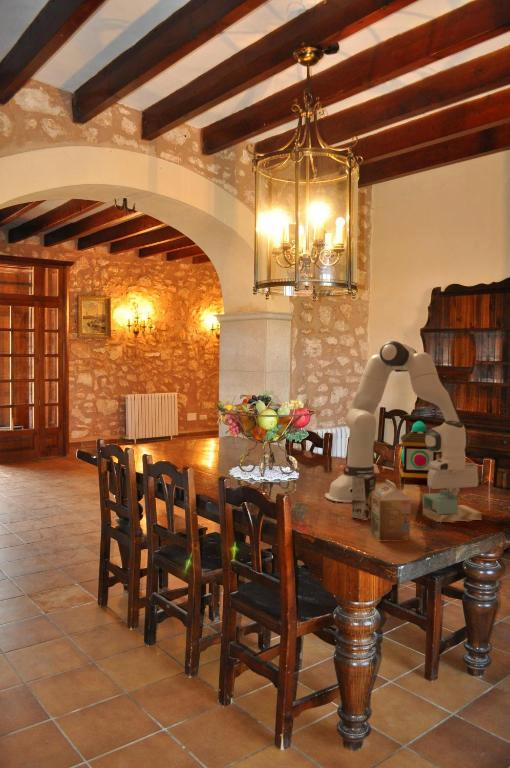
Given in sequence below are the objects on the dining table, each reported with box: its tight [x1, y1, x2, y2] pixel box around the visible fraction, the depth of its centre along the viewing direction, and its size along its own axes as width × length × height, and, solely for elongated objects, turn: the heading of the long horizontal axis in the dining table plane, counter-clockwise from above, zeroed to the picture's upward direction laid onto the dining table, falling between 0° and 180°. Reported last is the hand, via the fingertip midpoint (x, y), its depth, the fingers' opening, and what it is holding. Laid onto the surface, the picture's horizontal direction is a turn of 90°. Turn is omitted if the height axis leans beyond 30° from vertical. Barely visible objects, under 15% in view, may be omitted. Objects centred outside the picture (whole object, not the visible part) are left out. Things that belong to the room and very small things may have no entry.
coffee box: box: [351, 474, 377, 521], centre depth 235 cm, size 9×6×16 cm
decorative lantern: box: [397, 420, 441, 485], centre depth 301 cm, size 20×20×30 cm
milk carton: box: [370, 479, 411, 540], centre depth 211 cm, size 11×11×19 cm
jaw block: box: [432, 501, 437, 513], centre depth 234 cm, size 4×4×6 cm
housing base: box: [422, 504, 483, 524], centre depth 235 cm, size 18×12×3 cm, turn 103°
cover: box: [422, 489, 459, 514], centre depth 234 cm, size 8×12×6 cm, turn 13°
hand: (452, 499), depth 235 cm, fingers closed
